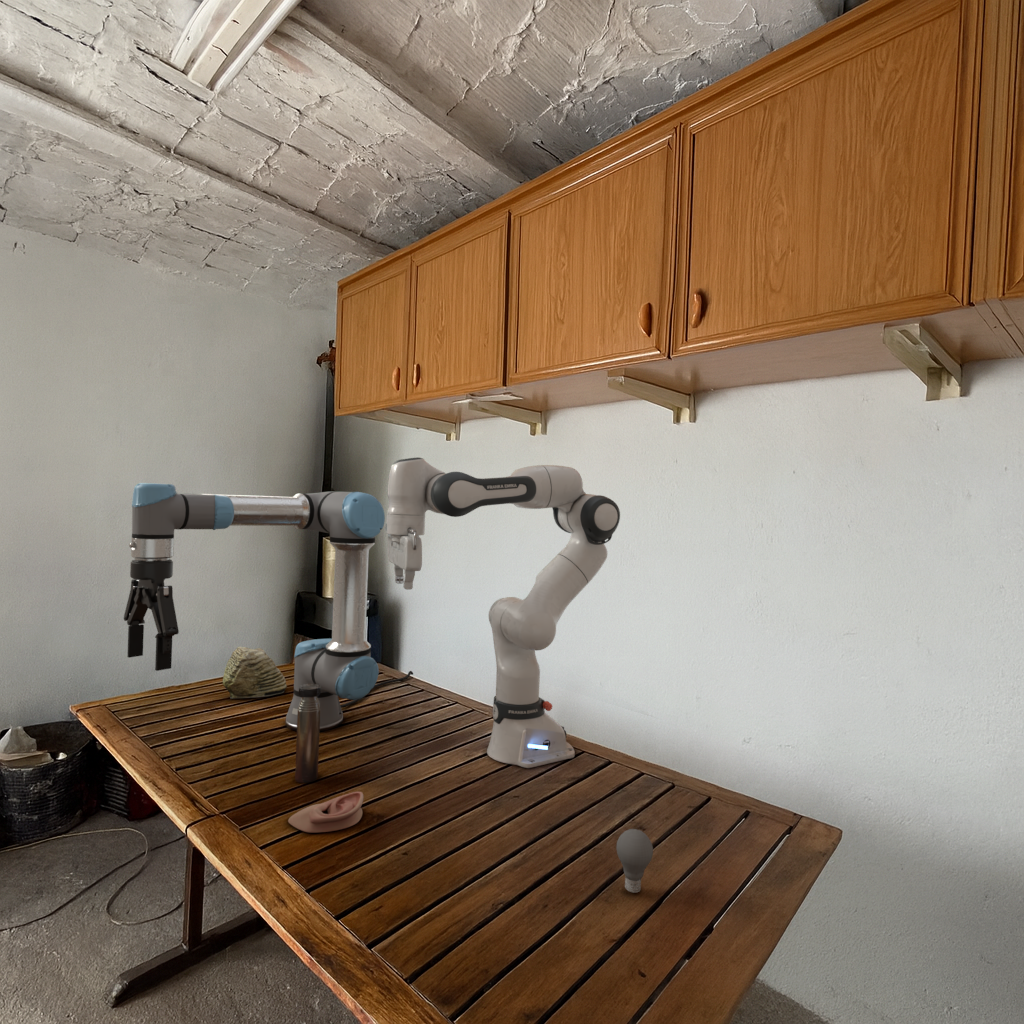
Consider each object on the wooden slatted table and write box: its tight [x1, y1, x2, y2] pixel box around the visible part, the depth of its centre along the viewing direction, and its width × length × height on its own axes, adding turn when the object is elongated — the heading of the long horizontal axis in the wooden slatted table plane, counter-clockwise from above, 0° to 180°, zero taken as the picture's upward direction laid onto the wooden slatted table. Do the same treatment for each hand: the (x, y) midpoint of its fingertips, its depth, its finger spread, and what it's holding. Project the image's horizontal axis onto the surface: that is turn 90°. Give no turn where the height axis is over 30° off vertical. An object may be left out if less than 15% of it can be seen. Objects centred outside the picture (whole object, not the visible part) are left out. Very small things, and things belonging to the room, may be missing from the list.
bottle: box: [294, 696, 321, 784], centre depth 142 cm, size 5×5×20 cm
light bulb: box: [615, 828, 654, 894], centre depth 106 cm, size 6×6×10 cm
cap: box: [299, 684, 321, 698], centre depth 142 cm, size 5×5×2 cm
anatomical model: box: [287, 791, 364, 834], centre depth 124 cm, size 13×4×12 cm
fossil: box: [222, 646, 288, 699], centre depth 198 cm, size 9×18×15 cm, turn 132°
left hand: (148, 662), depth 129 cm, fingers open, 13 cm apart
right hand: (403, 586), depth 148 cm, fingers open, 8 cm apart
